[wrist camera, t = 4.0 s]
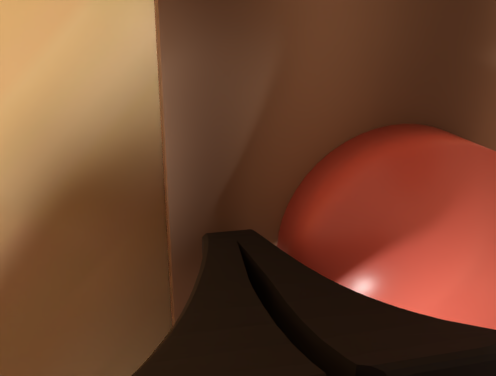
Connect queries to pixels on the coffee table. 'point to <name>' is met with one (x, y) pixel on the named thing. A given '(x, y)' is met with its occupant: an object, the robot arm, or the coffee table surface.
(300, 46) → the board
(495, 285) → the red ball
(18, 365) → the coffee table surface
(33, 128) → the coffee table surface
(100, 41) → the coffee table surface
